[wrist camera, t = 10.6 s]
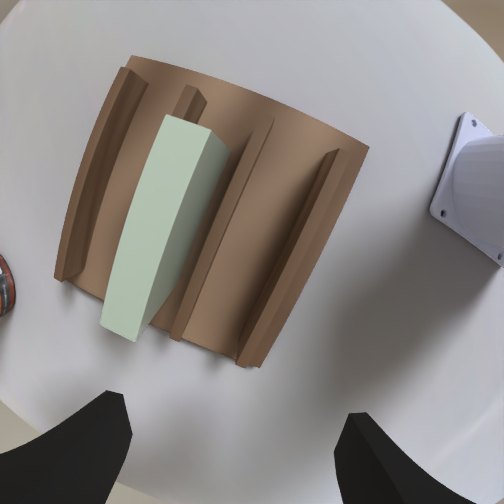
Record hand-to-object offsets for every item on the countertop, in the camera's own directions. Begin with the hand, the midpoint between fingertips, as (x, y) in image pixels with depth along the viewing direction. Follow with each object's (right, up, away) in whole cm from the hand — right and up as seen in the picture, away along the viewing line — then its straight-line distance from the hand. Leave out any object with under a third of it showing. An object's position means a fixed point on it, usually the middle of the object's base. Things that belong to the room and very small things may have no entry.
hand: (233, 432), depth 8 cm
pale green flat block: (-3, +8, +8) cm, 12 cm away
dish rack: (-3, +8, +9) cm, 12 cm away
